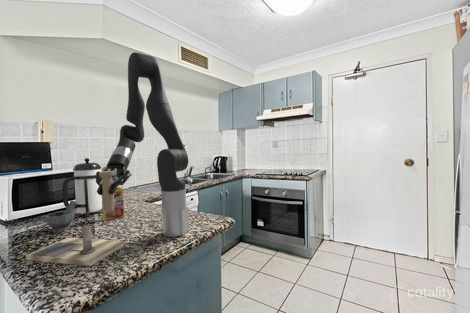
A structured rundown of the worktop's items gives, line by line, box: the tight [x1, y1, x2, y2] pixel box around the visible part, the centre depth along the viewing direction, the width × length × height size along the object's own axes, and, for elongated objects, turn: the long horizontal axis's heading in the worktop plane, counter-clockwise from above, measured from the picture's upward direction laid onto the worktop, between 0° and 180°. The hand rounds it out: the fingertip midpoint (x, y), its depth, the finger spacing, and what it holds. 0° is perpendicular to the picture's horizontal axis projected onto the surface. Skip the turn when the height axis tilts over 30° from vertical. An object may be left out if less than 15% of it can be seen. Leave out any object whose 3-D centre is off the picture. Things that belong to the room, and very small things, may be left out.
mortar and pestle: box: [44, 199, 77, 233], centre depth 97 cm, size 11×9×12 cm
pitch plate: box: [25, 225, 125, 267], centre depth 74 cm, size 24×14×10 cm, turn 78°
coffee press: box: [61, 157, 103, 218], centre depth 119 cm, size 17×16×30 cm
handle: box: [99, 170, 114, 212], centre depth 85 cm, size 5×6×15 cm
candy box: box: [102, 186, 125, 222], centre depth 110 cm, size 9×4×15 cm, turn 123°
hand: (104, 193), depth 83 cm, fingers closed on handle, 3 cm apart
